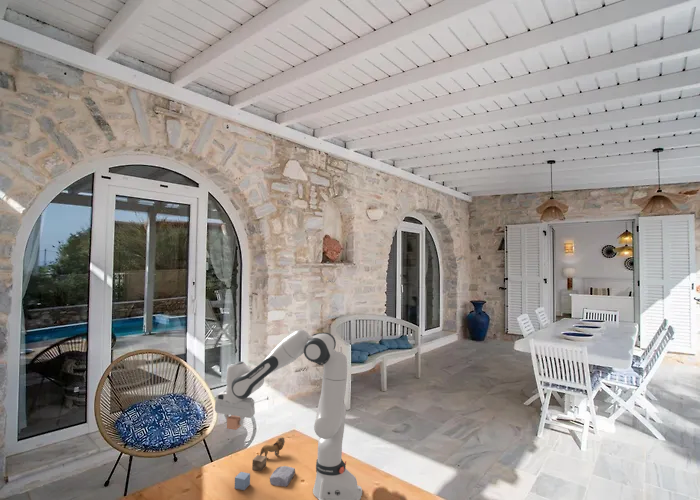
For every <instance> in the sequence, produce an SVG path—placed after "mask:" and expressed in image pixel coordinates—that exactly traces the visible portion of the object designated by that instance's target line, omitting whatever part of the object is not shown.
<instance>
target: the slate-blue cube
mask: <svg viewBox="0 0 700 500" xmlns="http://www.w3.org/2000/svg"><path fill="white" fill-rule="evenodd" d="M250 485H251V473H249V472H244V471H240V472H239V473H237V475H236V476H235V477H234V489H235V490H241V491H245V490H246V489H247V488H248V487H249V486H250Z"/></svg>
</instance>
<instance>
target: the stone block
mask: <svg viewBox="0 0 700 500" xmlns="http://www.w3.org/2000/svg"><path fill="white" fill-rule="evenodd" d="M295 473H296V468H295V467H292V466H288V465H287V466H286V465H283V466H278V467H277V468H275V469H274V471H273V472H272V474H271V475H270V477H269V482H270V485H272V486H275V487H279V486H280V487H285V488H286V487H288V486H289V485H290V483H291V480H292V479H293V477H294V476H295Z"/></svg>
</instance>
